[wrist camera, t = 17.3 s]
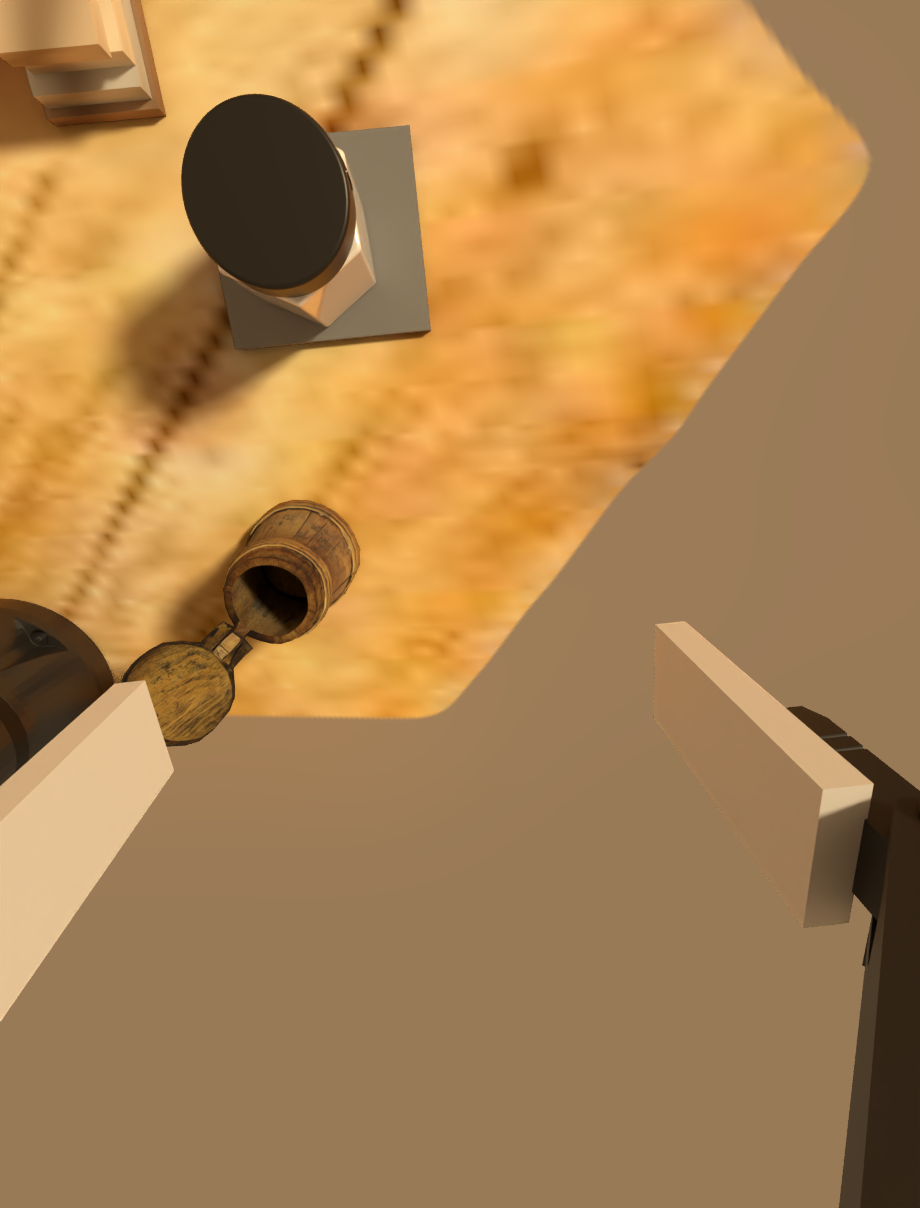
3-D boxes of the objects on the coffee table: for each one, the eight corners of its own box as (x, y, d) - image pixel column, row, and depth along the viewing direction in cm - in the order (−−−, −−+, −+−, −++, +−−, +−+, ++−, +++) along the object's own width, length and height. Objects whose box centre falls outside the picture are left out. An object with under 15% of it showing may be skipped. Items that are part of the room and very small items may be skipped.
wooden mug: (189, 588, 47) (54, 693, 30) (302, 477, 45) (224, 523, 28) (270, 659, 50) (188, 793, 33) (382, 558, 47) (356, 646, 30)
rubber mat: (238, 350, 41) (235, 349, 41) (197, 151, 37) (192, 145, 36) (430, 330, 42) (430, 329, 41) (409, 130, 37) (409, 125, 37)
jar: (395, 219, 38) (381, 143, 27) (357, 342, 41) (329, 319, 29) (265, 158, 37) (192, 50, 26) (233, 289, 39) (154, 243, 28)
